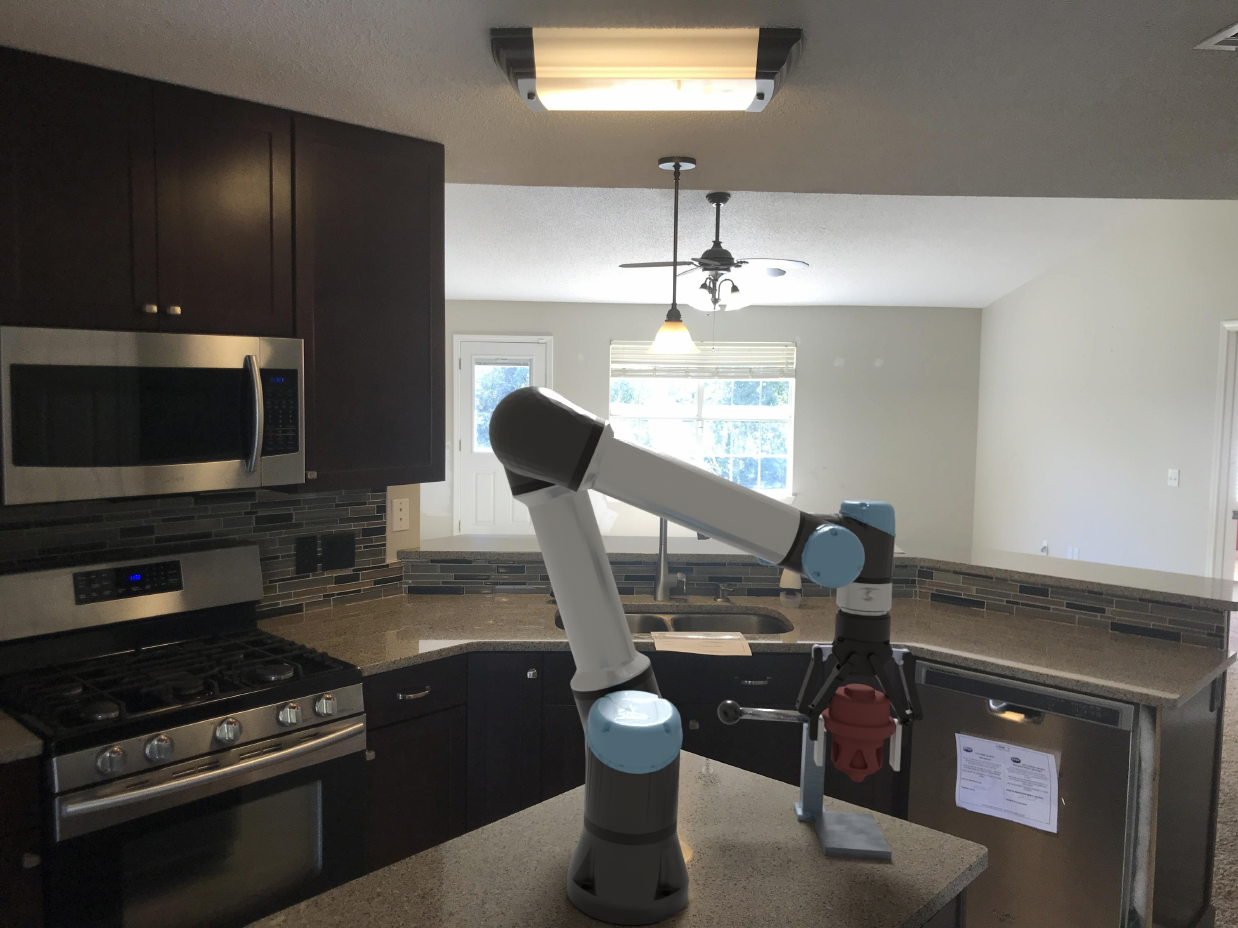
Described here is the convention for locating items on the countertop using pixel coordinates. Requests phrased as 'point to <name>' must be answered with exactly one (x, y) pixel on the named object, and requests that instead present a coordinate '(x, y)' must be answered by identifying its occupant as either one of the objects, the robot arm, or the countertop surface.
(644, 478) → the robot arm
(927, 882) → the countertop surface
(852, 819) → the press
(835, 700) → the mechanical component
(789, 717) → the lever
